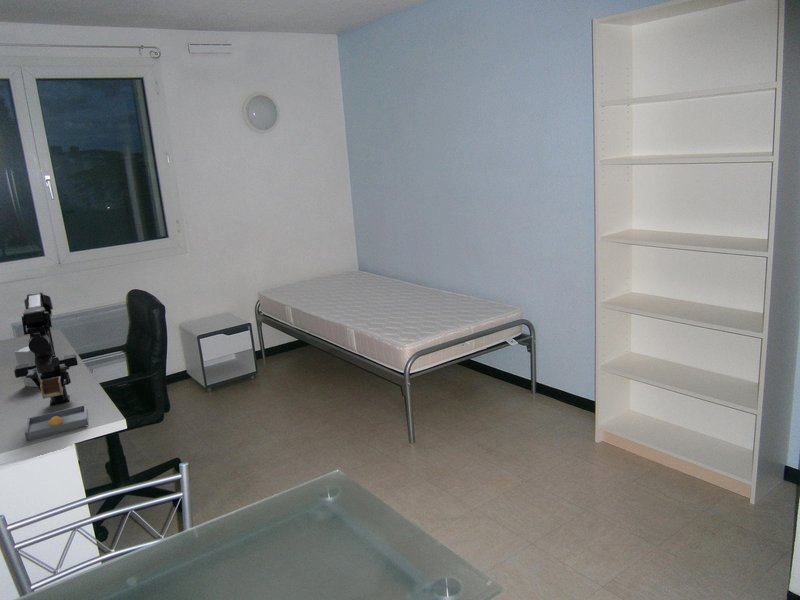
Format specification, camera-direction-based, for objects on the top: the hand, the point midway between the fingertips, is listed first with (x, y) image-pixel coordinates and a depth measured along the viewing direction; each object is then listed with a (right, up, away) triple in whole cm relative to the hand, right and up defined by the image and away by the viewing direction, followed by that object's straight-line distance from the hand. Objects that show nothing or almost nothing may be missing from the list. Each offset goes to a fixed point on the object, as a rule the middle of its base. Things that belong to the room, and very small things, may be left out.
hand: (52, 388), depth 212 cm
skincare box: (-29, -4, +41) cm, 51 cm away
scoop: (0, -2, 0) cm, 2 cm away
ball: (+7, -10, -9) cm, 15 cm away
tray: (+5, -12, -4) cm, 13 cm away
